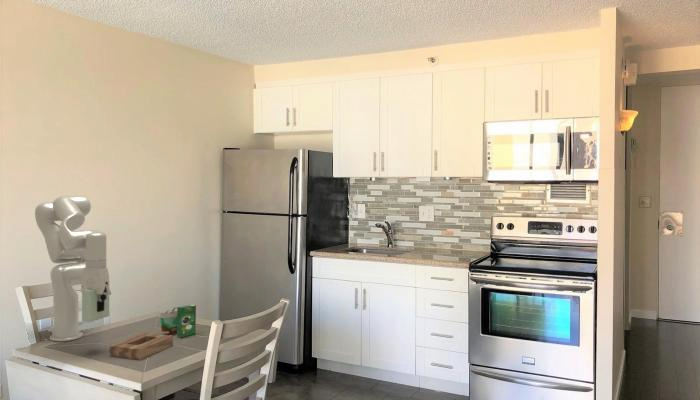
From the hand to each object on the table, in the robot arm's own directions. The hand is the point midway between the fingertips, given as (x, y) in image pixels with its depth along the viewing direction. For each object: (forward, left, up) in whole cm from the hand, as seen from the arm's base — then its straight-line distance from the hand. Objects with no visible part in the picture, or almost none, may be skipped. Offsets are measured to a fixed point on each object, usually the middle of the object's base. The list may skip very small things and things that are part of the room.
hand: (95, 310), depth 222 cm
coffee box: (+19, +32, -17) cm, 41 cm away
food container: (+11, +34, -17) cm, 40 cm away
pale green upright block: (0, 0, -3) cm, 3 cm away
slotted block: (+15, +8, -17) cm, 24 cm away
